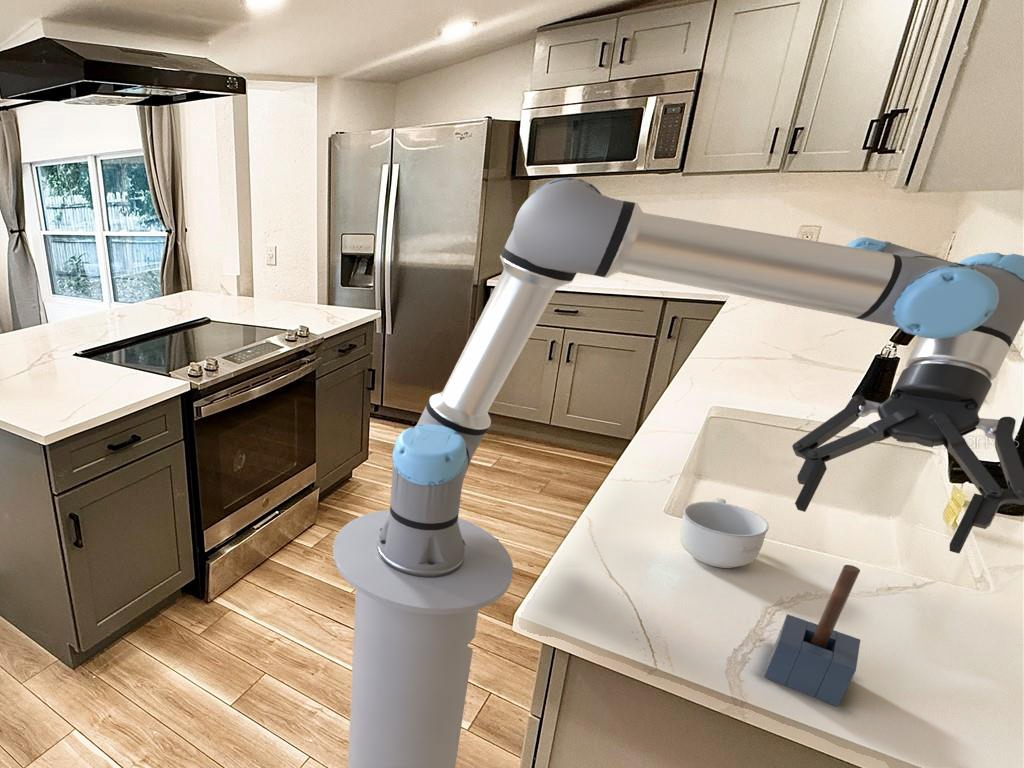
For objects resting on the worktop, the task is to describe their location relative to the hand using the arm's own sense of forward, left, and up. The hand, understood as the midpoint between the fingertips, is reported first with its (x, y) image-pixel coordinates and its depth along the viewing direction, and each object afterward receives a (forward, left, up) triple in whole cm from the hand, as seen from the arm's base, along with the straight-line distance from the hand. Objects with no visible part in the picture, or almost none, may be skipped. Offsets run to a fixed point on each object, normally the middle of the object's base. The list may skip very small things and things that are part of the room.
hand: (871, 527), depth 75 cm
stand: (-1, -7, -19) cm, 21 cm away
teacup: (-15, +17, -20) cm, 30 cm away
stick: (-1, -7, -19) cm, 21 cm away
